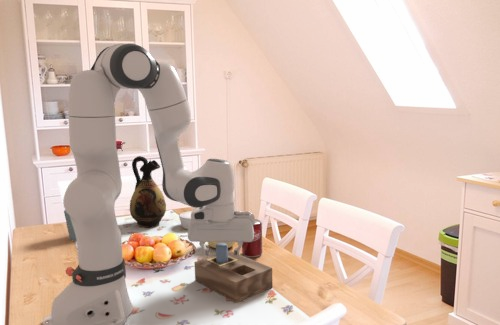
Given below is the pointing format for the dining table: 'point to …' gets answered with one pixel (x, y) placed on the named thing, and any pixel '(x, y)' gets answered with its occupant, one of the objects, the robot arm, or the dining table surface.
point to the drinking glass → (70, 227)
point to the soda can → (254, 242)
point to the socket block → (234, 276)
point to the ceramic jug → (146, 196)
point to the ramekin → (185, 219)
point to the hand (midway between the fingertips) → (221, 254)
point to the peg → (221, 253)
